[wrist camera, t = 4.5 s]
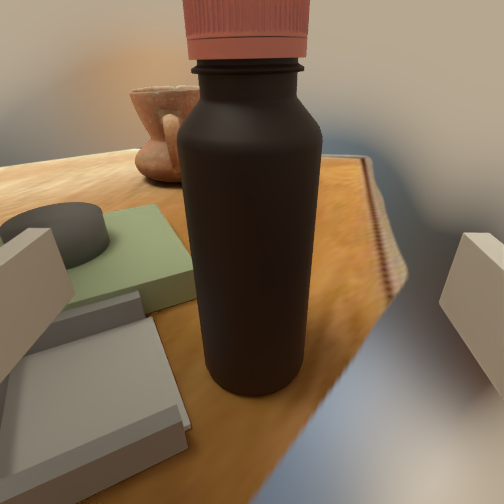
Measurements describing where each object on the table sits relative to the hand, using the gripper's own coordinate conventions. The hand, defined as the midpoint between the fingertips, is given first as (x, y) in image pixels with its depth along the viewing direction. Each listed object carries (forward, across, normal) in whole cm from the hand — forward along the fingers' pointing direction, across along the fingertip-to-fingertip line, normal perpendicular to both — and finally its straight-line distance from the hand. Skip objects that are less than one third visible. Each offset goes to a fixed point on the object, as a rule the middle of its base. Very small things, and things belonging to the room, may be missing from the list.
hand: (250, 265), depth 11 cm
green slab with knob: (+10, -15, -12) cm, 22 cm away
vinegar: (+7, 0, -12) cm, 14 cm away
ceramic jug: (+47, -16, -12) cm, 51 cm away
